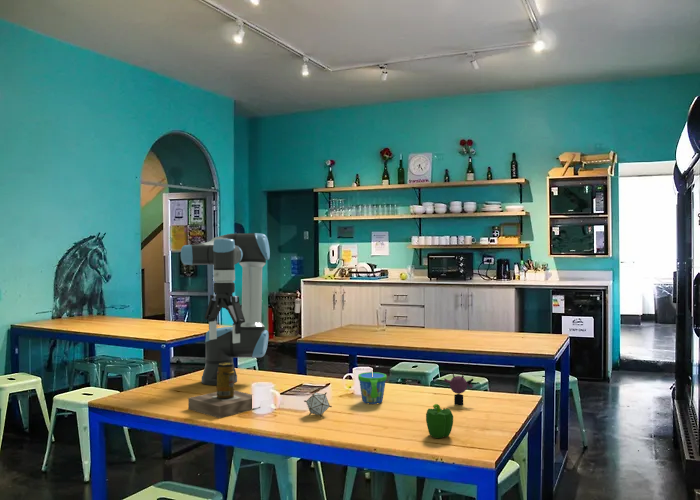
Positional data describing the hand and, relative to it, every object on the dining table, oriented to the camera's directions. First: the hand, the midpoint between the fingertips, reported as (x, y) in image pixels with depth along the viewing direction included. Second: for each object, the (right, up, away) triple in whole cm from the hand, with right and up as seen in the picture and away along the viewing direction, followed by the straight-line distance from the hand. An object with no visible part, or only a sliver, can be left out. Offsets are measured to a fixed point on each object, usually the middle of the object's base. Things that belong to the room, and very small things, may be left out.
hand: (224, 341), depth 212 cm
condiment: (+1, -20, -1) cm, 20 cm away
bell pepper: (+72, -24, -33) cm, 83 cm away
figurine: (+85, -24, +4) cm, 88 cm away
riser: (0, -24, 0) cm, 24 cm away
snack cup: (+53, -24, +8) cm, 59 cm away
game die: (+34, -24, -10) cm, 43 cm away
